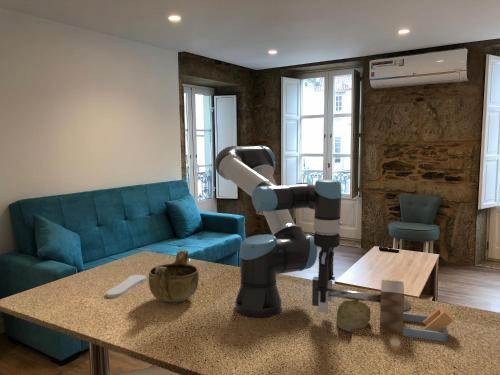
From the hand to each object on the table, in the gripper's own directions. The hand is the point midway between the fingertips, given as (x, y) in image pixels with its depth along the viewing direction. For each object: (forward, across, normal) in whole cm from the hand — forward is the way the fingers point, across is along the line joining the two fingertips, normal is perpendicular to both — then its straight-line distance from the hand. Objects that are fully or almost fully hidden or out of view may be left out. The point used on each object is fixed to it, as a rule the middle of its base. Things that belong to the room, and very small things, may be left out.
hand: (325, 306), depth 122 cm
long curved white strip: (+6, +6, +75) cm, 76 cm away
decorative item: (+5, -2, -8) cm, 9 cm away
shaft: (0, 0, -7) cm, 7 cm away
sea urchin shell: (+5, +16, -20) cm, 26 cm away
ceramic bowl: (+5, 0, +51) cm, 52 cm away
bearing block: (+4, 0, -19) cm, 19 cm away
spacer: (+3, -1, -29) cm, 29 cm away
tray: (+4, -1, -27) cm, 28 cm away
